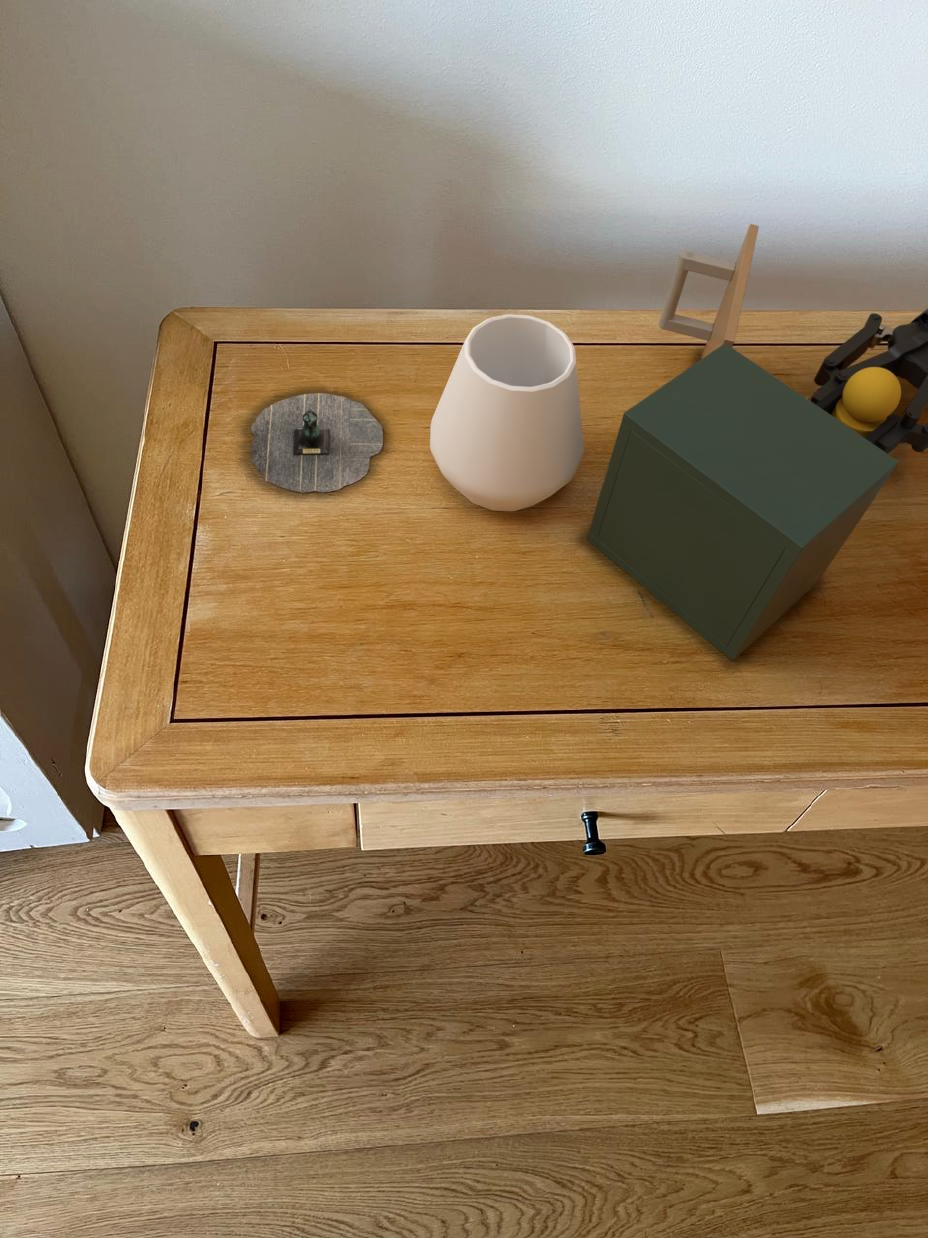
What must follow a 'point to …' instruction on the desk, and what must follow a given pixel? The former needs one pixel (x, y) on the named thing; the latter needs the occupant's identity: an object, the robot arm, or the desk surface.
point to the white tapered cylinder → (510, 414)
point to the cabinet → (732, 496)
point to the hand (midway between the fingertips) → (824, 444)
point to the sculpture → (315, 442)
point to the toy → (868, 400)
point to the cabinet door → (731, 301)
